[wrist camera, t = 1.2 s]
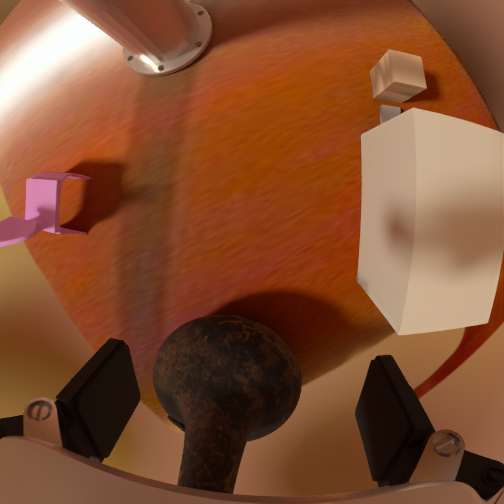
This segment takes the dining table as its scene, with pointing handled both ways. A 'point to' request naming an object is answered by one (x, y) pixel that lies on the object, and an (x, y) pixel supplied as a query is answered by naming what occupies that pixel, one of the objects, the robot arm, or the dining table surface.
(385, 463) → the robot arm
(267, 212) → the dining table surface
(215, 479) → the glass bottle
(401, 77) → the tool
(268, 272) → the dining table surface
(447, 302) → the white box on stand
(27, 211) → the toy chair
